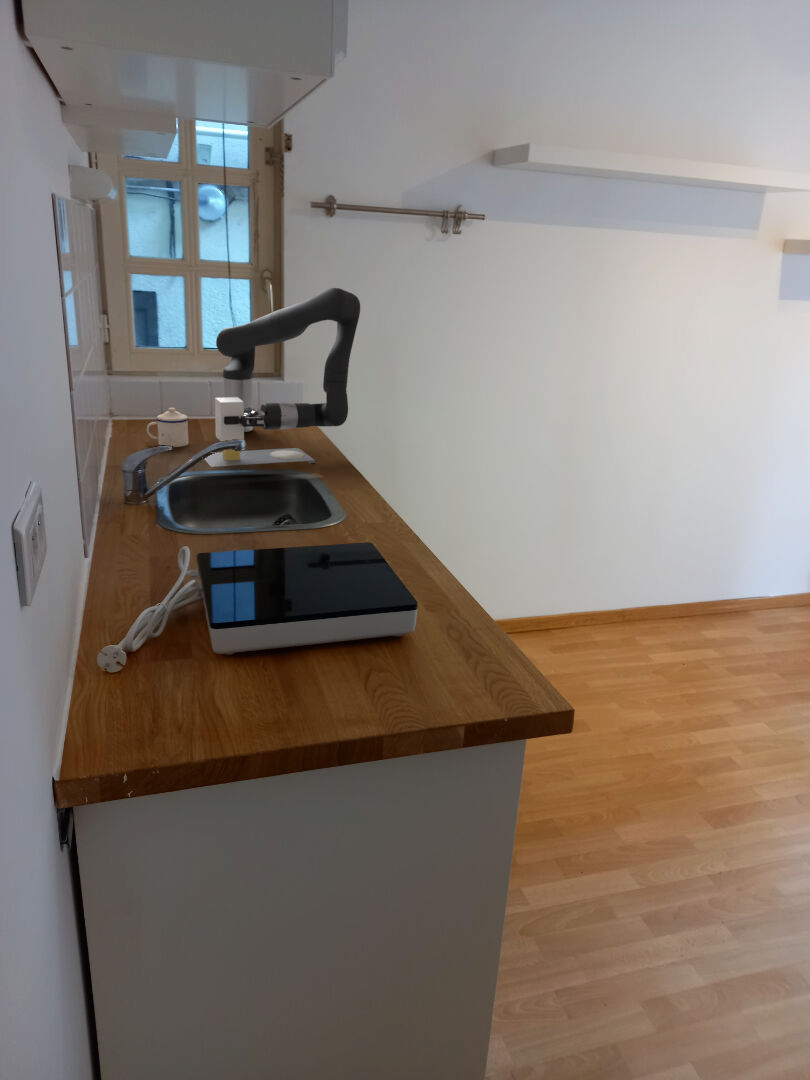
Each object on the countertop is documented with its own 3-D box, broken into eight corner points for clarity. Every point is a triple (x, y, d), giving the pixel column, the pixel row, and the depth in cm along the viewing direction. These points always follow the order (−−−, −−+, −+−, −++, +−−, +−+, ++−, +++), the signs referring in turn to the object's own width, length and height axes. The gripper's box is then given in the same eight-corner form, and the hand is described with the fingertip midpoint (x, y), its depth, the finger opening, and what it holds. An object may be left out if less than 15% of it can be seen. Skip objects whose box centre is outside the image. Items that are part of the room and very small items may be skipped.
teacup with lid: (190, 443, 239) (189, 405, 235) (188, 450, 231) (186, 411, 227) (149, 442, 237) (147, 404, 233) (146, 450, 229) (143, 410, 224)
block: (222, 457, 222) (222, 446, 221) (236, 456, 224) (236, 446, 223) (226, 460, 219) (225, 450, 218) (240, 459, 221) (239, 449, 220)
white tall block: (215, 436, 221) (215, 397, 217) (237, 435, 224) (237, 397, 220) (221, 441, 216) (220, 402, 212) (243, 440, 218) (243, 401, 214)
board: (199, 456, 225) (198, 452, 224) (298, 451, 238) (298, 447, 237) (211, 470, 212) (211, 466, 212) (315, 463, 225) (315, 459, 225)
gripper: (271, 398, 228) (214, 399, 221) (287, 408, 216) (227, 409, 209) (271, 423, 231) (215, 425, 224) (286, 434, 219) (227, 437, 212)
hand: (221, 417), depth 216 cm, fingers closed on white tall block, 6 cm apart
